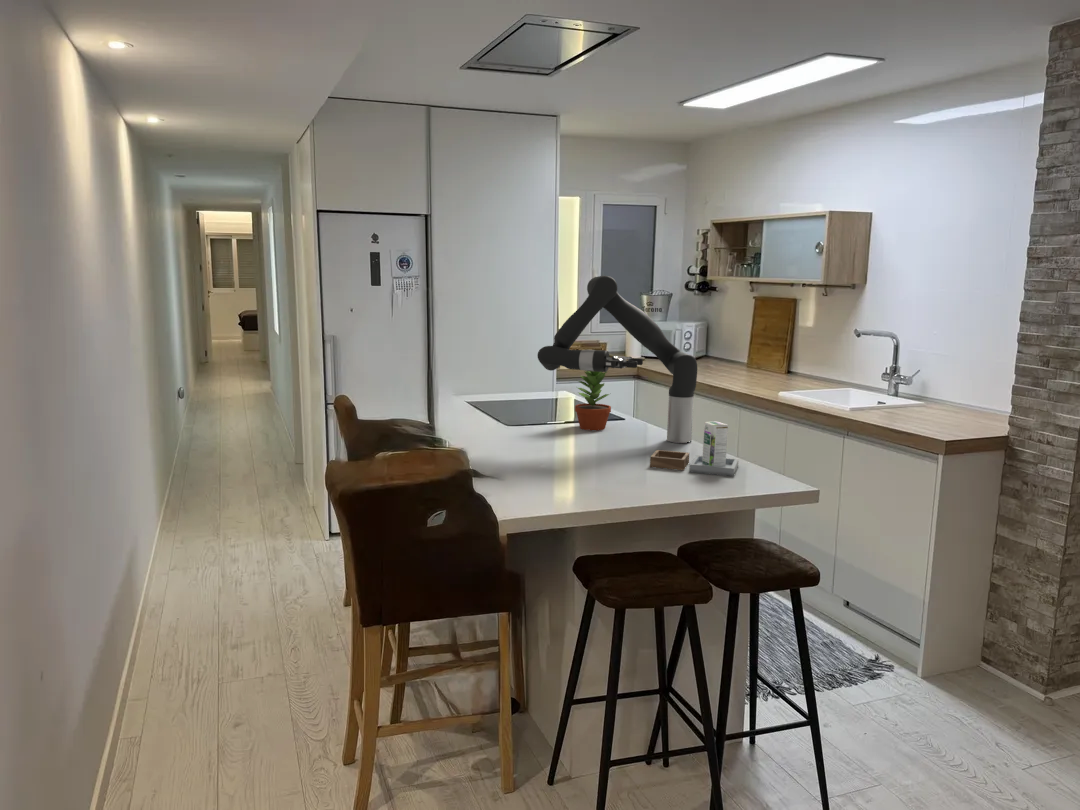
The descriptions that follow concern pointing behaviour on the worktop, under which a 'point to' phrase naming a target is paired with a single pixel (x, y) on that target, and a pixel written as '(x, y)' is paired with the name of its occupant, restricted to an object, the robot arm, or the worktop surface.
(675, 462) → the walnut holder
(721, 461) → the syrup box
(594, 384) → the potted plant
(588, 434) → the worktop surface
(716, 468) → the slate tray
